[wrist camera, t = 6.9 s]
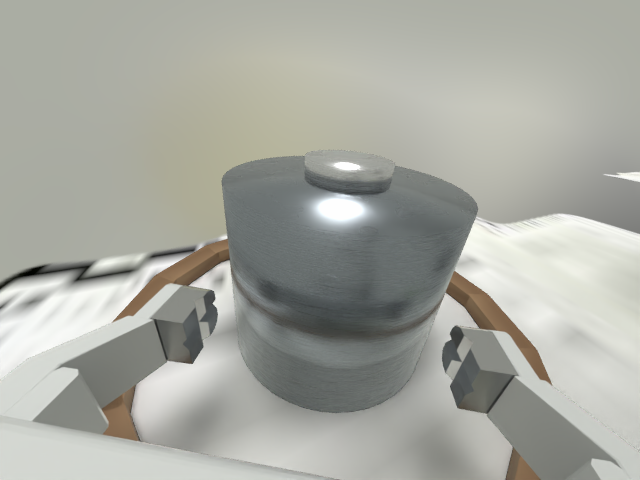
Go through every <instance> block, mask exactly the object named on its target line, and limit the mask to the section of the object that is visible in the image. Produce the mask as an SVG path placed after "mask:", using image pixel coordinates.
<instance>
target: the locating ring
mask: <svg viewBox="0 0 640 480" xmlns="http://www.w3.org/2000/svg"><path fill="white" fill-rule="evenodd" d="M228 259H230V256H229V246H228V239H225V240H222V241H219V242H216V243H212V244H209V245H207V246H204V247H203V248H201V249H199V250H198V251H196V252H194V253H192V254H191V255H189V256H187V257H186V258H184V259H182V260H181V261H179V262H177V263H175V264H174V265H172V266H170V267H169V268H167V269H165V270H164V271H162V272H160V273H158V274H157V275H156V276H154V277H153V278H152V280H151V281H150V282H149V283H148V284H147V285H146V286H145V287H144V288H143V289H142V290H141V291H140V293H139V294H138V295H137V296H136V297H135V298H134V299H133V300H132V301H131V302H130V303H129V304H128V306H127V307H126V308H125V309H124V310H123V311H122V312H121V313H120V314H119V315H118V316H117V318H116V319H115V320H114V321H113V322H115V321H117V320H119V319H122V318H124V317H126V316H134V315H135V314H136V313H137V312H138V311H139V310H140V309H141V308H142V307H143V306H144V305H145V304H146V303H147V302H148V301H150V300H151V299H152V298H153V297H154V296H155V295H156V294H157V293H158V292H159V291H160V290H161V289H162V288H163V287H164V286H165V285H167V284H170V283H172V284H177V285H183V286H184V285H185V286H187V285H189V284H190V283H191V282H193V281H194V280H196V279H197V278H199V277H200V276H201V275H203V274H204V273H206V272H207V271H208V270H210V269H211V268H213V267H214V266H216V265H217V264H218V263H220V262H222V261H225V260H228ZM446 292H447V293H448V294H449V295H451V296H452V297H453V298H454V299H456V300H457V301H458V302H459V303H461V304H462V305H463V306H464V307H465V308H466V309H467V311H468V312H469V313H470V315H471V316H472V317H473V319H474V320H475V322H476V323H477V324H478V326H479V327H480V329H485V330H494V331H502V332H506V333H507V334H509V335H510V336H511V338H512V339H513V341H514V342H515V344H516V345H517V347H518V348H519V350H520V351H521V353H522V354H523V355H524V357H525V358H526V360H527V361H528V363H529V364H530V366H531V367H532V369H533V370H534V372H535V373H536V375H537V376H538V378H539V379H540V380H544V381H547V382H548V383H549V384H551V385H552V383H551V381H550V379H549V377H548V374H547V372H546V370H545V367H544V365H543V363H542V360H541V358H540V356H539V353H538V351H537V350H536V348H535V347H534V346H533V345H532V343H531V342H530V341H529V340H528V339H527V338H526V337H525V336H524V334H523V333H522V332H521V331H520V330H519V329H518V328H517V327H516V325H515V324H514V323H513V322H512V321H511V320H510V319H509V318H508V316H507V315H506V314H505V313H504V312H503V311H502V310H501V309H500V307H499V306H498V305H497V304H496V303H495V302H494V301H493V299H492V298H491V297H490V296H489V295H487V293H485V292H484V291H482V290H481V289H479V288H478V287H477V286H475V285H474V284H472V283H471V282H469V281H468V280H467V279H465V278H464V277H462V276H461V275H459V274H458V273H456V272H455V271H454V272H453V275H452V277H451V280H450V282H449V285H448V287H447V290H446ZM134 391H135V385H134V386H133V387H131V388H130V389H129V390H127V391H126V392H125V393H123V394H122V395H120V396H119V397H118V398H116V399H115V400H113V401H112V402H111V403H109V404H108V405H106V406H105V407H104V408H102V411H103V413H104V415H105V416H106V418H107V420H108V428H107V429H106V431H105V432H104V433H103V435H107V436H113V437H118V438H123V439H128V440H134V441H139V442H140V440H139V437H138V434H137V431H136V428H135V426H134V423H133V420H132V417H131V414H130V411H131V406H132V401H133V396H134ZM506 480H541V479H540V478H539V477H538V476H537V474H536V473H535V472H534V471H533V470H532V469H531V467H530V466H529V465H528V464H527V463H526V461H525V460H524V459H523V458H522V457H521V455H520V454H519V453H518V452H517V451H516V450H515V448H514V447H513V451H512V455H511V460H510V464H509V468H508V472H507V476H506Z"/></svg>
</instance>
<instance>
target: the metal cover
mask: <svg viewBox="0 0 640 480" xmlns="http://www.w3.org/2000/svg"><path fill="white" fill-rule="evenodd" d="M222 189H223V199H224V208H225V217H226V226H227V237H228V246H229V256H230V265H231V275H232V284H233V294H234V303H235V313H236V322H237V332H238V341H239V347H240V350H241V354H242V357H243V359H244V361H245V363H246V365H247V367H248V368H249V369H250V371H251V372H252V374H253V375H254V376H255V377H256V378H257V379H258V380H259V381H260V382H261V383H262V385H263V386H265V387H266V388H267V389H269V390H270V391H271V392H273V393H274V394H275V395H277V396H279V397H281V398H282V399H284V400H286V401H288V402H290V403H293V404H295V405H298V406H300V407H303V408H307V409H311V410H316V411H321V412H332V413H341V412H353V411H358V410H363V409H367V408H370V407H373V406H375V405H378V404H380V403H382V402H384V401H386V400H387V399H389V398H391V397H392V396H394V395H395V394H396V393H397V392H398V391H400V390H401V389H402V388H403V386H404V385H405V384H406V383H407V382H408V380H409V379H410V377H411V375H412V373H413V372H414V369H415V367H416V364H417V362H418V359H419V357H420V354H421V352H422V349H423V347H424V344H425V342H426V339H427V337H428V335H429V332H430V330H431V327H432V325H433V322H434V320H435V317H436V315H437V312H438V310H439V307H440V305H441V302H442V300H443V297H444V295H445V292H446V290H447V287H448V285H449V282H450V280H451V277H452V275H453V272H454V270H455V267H456V265H457V262H458V260H459V257H460V255H461V252H462V250H463V247H464V245H465V242H466V240H467V238H468V235H469V233H470V230H471V228H472V225H473V223H474V220H475V218H476V215H477V211H478V207H477V203H476V202H475V201H474V199H473V198H472V197H471V196H470V195H469V194H467V193H466V192H464V191H463V190H462V189H460V188H458V187H457V186H455V185H453V184H451V183H448V182H446V181H444V180H442V179H439V178H436V177H434V176H431V175H427V174H425V173H421V172H418V171H414V170H411V169H406V168H403V167H398V166H395V163H394V162H393V161H391V160H389V159H387V158H384V157H380V156H377V155H372V154H367V153H361V152H353V151H342V150H318V151H311V152H308V153H306V155H305V156H291V157H290V156H289V157H276V158H268V159H261V160H255V161H251V162H247V163H244V164H241V165H238V166H236V167H234V168H232V169H231V170H229V171H227V172H226V174H225V175H224V176H223V178H222Z"/></svg>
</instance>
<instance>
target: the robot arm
mask: <svg viewBox="0 0 640 480" xmlns="http://www.w3.org/2000/svg"><path fill="white" fill-rule="evenodd" d="M214 300H215V294H214V291H212V290H209V289H203V288H197V287H191V286H185V285H184V286H183V285H177V284H172V283H170V284H167V285H165V286H164V287H163V288H162V289H161V290H160V291H159V292H158V293H157V294H156V295H155V296H154V297H153V298H152V299H151V300H150V301H148V302H147V303H146V304H145V305H144V306H143V307H142V308H141V309H140V310H139V311H138V312H137V313H136V314H135V315H134V316H126V317H124V318H122V319H119V320H117V321H115V322H112V323H110V324H108V325H105V326H103V327H101V328H98V329H96V330H94V331H91V332H89V333H87V334H84V335H82V336H80V337H77V338H75V339H73V340H70V341H68V342H66V343H63V344H61V345H59V346H56V347H54V348H52V349H49V350H47V351H45V352H42V353H40V354H38V355H35V356H33V357H31V358H28V359H27V360H25V361H24V362H23V363H21V364H20V365H19V366H18V367H16V368H15V369H14V370H12V371H11V372H10V373H8V374H7V375H6V376H5V377H3V378H2V379H1V380H0V480H339V479H334V478H329V477H324V476H318V475H313V474H308V473H303V472H297V471H292V470H287V469H281V468H276V467H271V466H266V465H260V464H255V463H250V462H245V461H239V460H234V459H229V458H223V457H218V456H213V455H208V454H202V453H197V452H192V451H187V450H181V449H176V448H171V447H165V446H160V445H155V444H150V443H144V442H139V441H134V440H128V439H123V438H118V437H113V436H107V435H103V433H104V432H105V431H106V429H107V428H108V420H107V418H106V416H105V415H104V413H103V411H102V408H104V407H105V406H106V405H108V404H109V403H111V402H112V401H113V400H115V399H116V398H118V397H119V396H120V395H122V394H123V393H125V392H126V391H127V390H129V389H130V388H131V387H133V386H134V385H136V384H137V383H138V382H140V381H141V380H143V379H144V378H145V377H147V376H148V375H150V374H151V373H152V372H154V371H155V370H157V369H158V368H159V367H161V366H162V365H164V364H165V363H166V362H167V361H174V362H181V363H188V364H193V362H194V361H195V359H196V358H197V356H198V354H199V353H200V351H201V350H202V348H203V341H202V340H204V339H206V338H207V337H209V336H210V335H211V334H212V332H213V330H214V328H215V325H216V322H217V316H218V313H217V308H216V307H215V306H214V305H213V304H212V303H213V302H214ZM450 335H451V338H452V340H450V341H448V342H447V343H445V346H444V348H443V353H442V361H443V367H444V370H445V373H446V374H447V375H448V376H449V377H450V378H451V379H452V380H453V381H452V383H451V386H450V388H451V391H452V393H453V396H454V399H455V402H456V405H457V408H460V409H465V410H470V411H475V412H480V413H485V414H487V416H488V417H489V419H490V420H491V421H492V422H493V423H494V425H495V426H496V427H497V428H498V429H499V430H500V432H501V433H502V434H503V435H504V436H505V438H506V439H507V440H508V441H509V442H510V444H511V445H512V446H513V447H514V448H515V450H516V451H517V452H518V453H519V454H520V455H521V457H522V458H523V459H524V460H525V461H526V463H527V464H528V465H529V466H530V467H531V469H532V470H533V471H534V472H535V473H536V474H537V476H538V477H539V478H540V479H541V480H640V452H639V451H638V450H636V449H635V448H634V447H632V446H631V445H630V444H628V443H627V442H626V441H624V440H623V439H622V438H621V437H619V436H618V435H617V434H615V433H614V432H613V431H611V430H610V429H609V428H607V427H606V426H605V425H603V424H602V423H601V422H599V421H598V420H597V419H595V418H594V417H593V416H592V415H590V414H589V413H588V412H586V411H585V410H584V409H582V408H581V407H580V406H578V405H577V404H576V403H574V402H573V401H572V400H570V399H569V398H568V397H566V396H565V395H564V394H563V393H561V392H560V391H559V390H557V389H556V388H555V387H553V386H552V385H551V384H549V383H548V382H547V381H544V380H540V379H539V378H538V376H537V375H536V373H535V372H534V370H533V369H532V367H531V366H530V364H529V363H528V361H527V360H526V358H525V357H524V355H523V354H522V353H521V351H520V350H519V348H518V347H517V345H516V344H515V342H514V341H513V339H512V338H511V336H510V335H509V334H507V333H506V332H502V331H494V330H485V329H478V328H471V327H463V326H455V327H453V328H452V330H451V332H450Z"/></svg>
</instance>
